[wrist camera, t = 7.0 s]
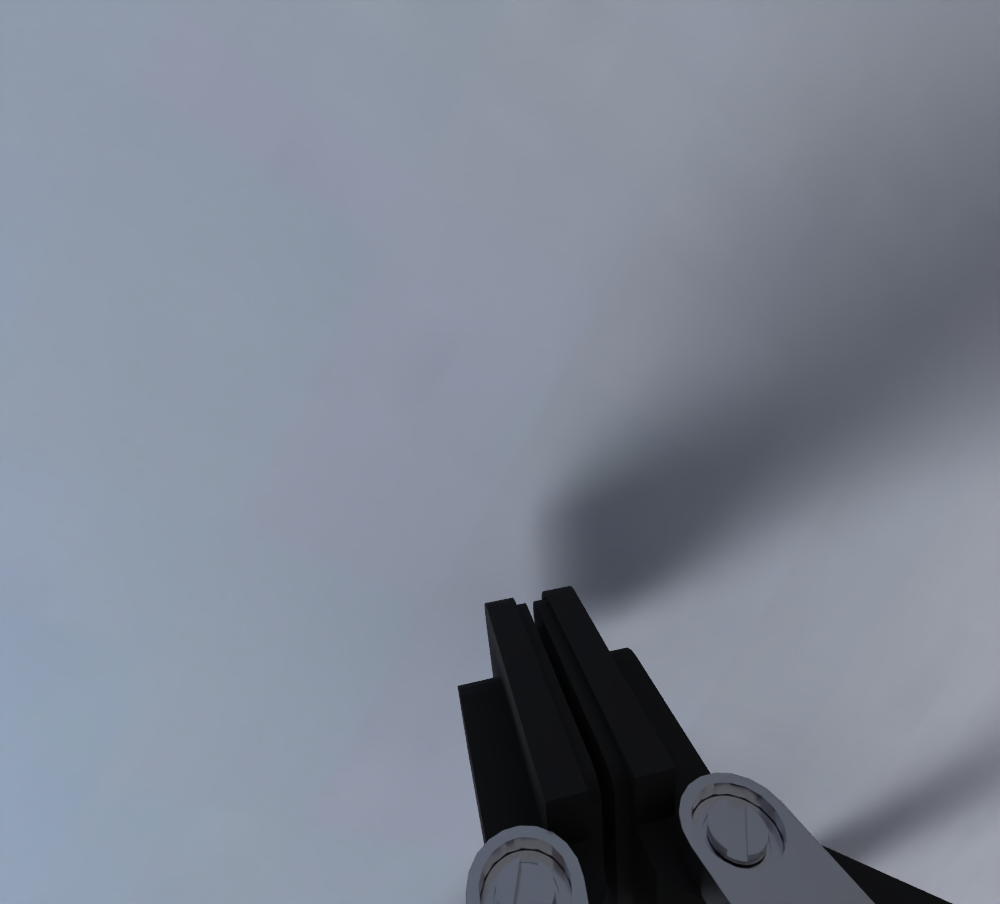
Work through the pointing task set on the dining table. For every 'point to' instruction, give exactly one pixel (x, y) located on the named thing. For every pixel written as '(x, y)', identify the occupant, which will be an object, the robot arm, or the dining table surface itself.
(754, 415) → the dining table surface
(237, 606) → the dining table surface
